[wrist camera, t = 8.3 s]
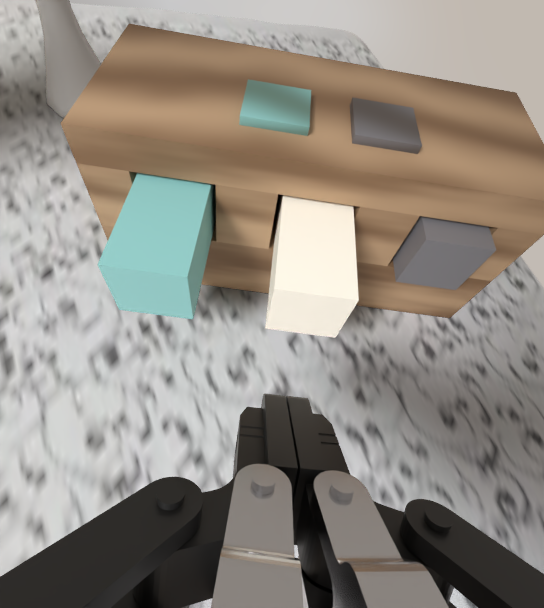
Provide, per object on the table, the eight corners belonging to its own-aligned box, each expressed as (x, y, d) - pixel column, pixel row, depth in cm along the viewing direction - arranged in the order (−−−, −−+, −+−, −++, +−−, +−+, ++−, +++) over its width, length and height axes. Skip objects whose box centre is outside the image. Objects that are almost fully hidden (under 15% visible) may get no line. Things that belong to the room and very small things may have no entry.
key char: (455, 290, 23) (496, 250, 20) (395, 281, 23) (426, 239, 19) (431, 186, 28) (460, 140, 25) (382, 178, 28) (404, 131, 25)
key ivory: (335, 337, 20) (358, 300, 17) (265, 328, 20) (274, 289, 16) (333, 212, 25) (351, 164, 22) (278, 203, 25) (286, 154, 22)
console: (449, 318, 28) (585, 198, 18) (121, 273, 27) (56, 113, 16) (428, 219, 34) (521, 85, 24) (157, 177, 33) (127, 14, 22)
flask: (41, 87, 38) (-10, -38, 29) (112, 79, 40) (82, -39, 32) (54, 126, 35) (0, -1, 26) (129, 115, 37) (102, -5, 29)
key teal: (193, 319, 20) (187, 277, 16) (119, 309, 19) (97, 264, 16) (221, 194, 25) (221, 143, 21) (163, 186, 25) (154, 132, 21)
